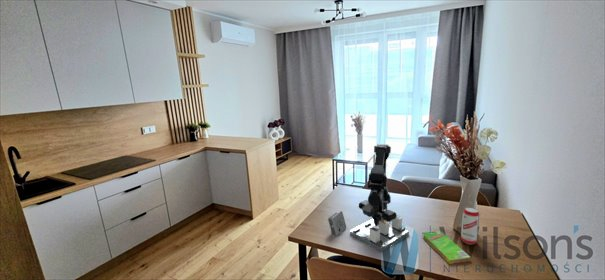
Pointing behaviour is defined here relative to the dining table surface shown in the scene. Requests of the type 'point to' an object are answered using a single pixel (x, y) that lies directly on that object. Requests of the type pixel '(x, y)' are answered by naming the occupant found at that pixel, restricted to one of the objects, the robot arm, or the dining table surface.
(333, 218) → the electrical switch
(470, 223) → the beer can
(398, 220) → the block
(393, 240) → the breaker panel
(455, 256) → the game box
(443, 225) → the dining table surface
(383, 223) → the breaker
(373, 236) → the breaker
